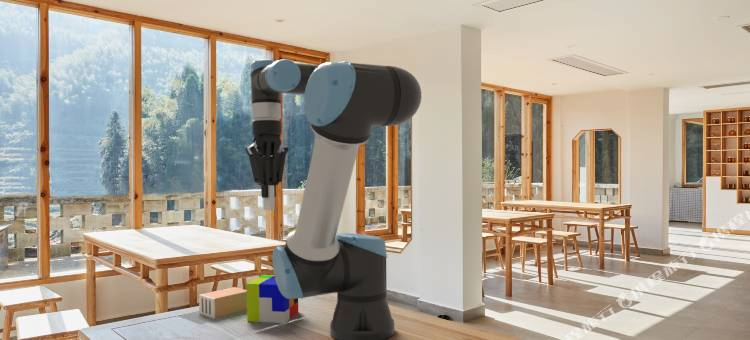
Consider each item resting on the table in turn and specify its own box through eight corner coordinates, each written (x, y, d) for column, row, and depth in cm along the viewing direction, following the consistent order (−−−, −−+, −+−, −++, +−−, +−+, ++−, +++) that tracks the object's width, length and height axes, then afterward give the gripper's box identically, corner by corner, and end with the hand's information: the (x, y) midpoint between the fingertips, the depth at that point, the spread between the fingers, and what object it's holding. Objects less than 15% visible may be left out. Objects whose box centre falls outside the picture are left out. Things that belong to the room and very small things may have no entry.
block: (213, 318, 142) (249, 309, 150) (213, 299, 142) (249, 290, 150) (199, 313, 147) (234, 304, 155) (198, 294, 147) (234, 287, 155)
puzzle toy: (284, 325, 138) (284, 285, 137) (247, 323, 140) (246, 283, 139) (298, 313, 147) (297, 276, 147) (263, 312, 149) (262, 275, 149)
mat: (254, 312, 149) (254, 310, 149) (200, 326, 137) (200, 324, 137) (230, 305, 156) (230, 303, 156) (177, 317, 145) (177, 316, 145)
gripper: (275, 122, 153) (278, 208, 153) (237, 120, 143) (239, 211, 143) (294, 120, 148) (297, 208, 148) (256, 117, 138) (259, 212, 138)
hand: (269, 210), depth 146 cm, fingers closed
